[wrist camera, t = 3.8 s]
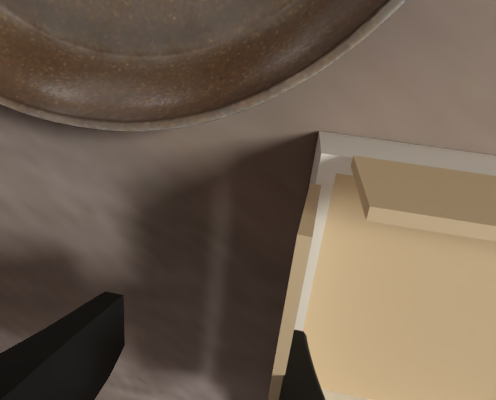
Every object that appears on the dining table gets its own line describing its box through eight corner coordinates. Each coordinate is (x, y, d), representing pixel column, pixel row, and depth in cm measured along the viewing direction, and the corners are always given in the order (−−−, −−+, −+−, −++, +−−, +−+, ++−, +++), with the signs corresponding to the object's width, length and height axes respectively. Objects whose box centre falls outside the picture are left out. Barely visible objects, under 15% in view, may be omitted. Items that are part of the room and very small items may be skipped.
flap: (312, 237, 7) (297, 234, 7) (252, 536, 11) (243, 532, 11) (321, 185, 10) (310, 183, 10) (271, 438, 14) (263, 436, 14)
